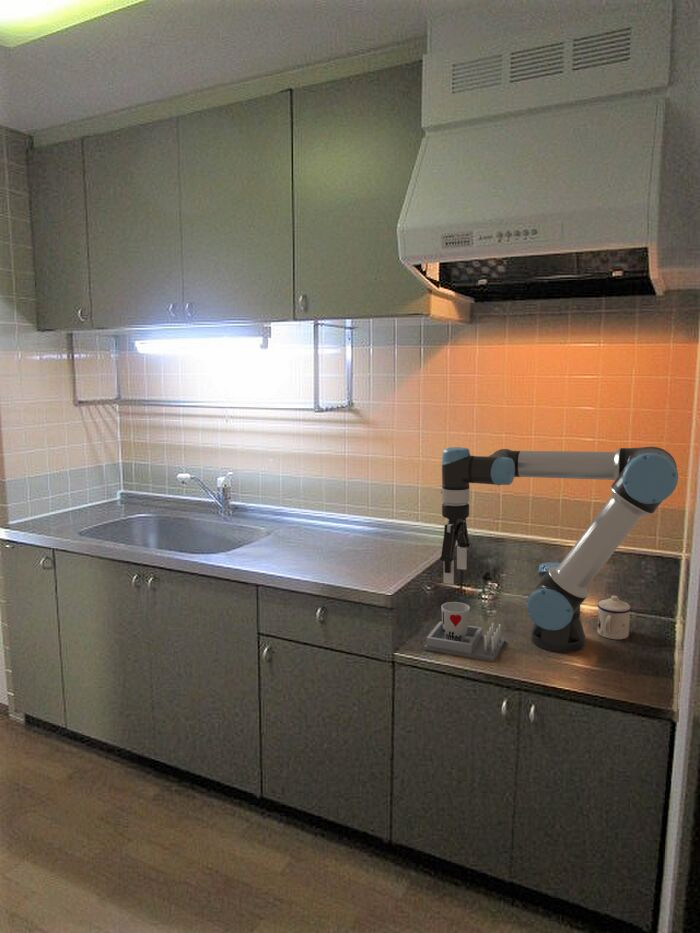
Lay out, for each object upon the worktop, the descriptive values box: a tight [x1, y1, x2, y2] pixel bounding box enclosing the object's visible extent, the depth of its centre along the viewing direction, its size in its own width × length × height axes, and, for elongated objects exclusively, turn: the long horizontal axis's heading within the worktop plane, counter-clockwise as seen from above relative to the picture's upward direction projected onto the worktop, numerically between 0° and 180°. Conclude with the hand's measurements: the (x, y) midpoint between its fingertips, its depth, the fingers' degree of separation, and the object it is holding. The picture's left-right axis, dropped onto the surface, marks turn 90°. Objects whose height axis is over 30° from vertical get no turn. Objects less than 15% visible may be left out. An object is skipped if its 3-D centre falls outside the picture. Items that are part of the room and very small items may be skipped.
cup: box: [440, 601, 471, 642], centre depth 190 cm, size 8×8×10 cm
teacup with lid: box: [597, 595, 632, 640], centre depth 193 cm, size 12×9×12 cm
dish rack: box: [423, 620, 506, 662], centre depth 189 cm, size 20×14×6 cm
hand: (455, 576), depth 187 cm, fingers open, 13 cm apart
